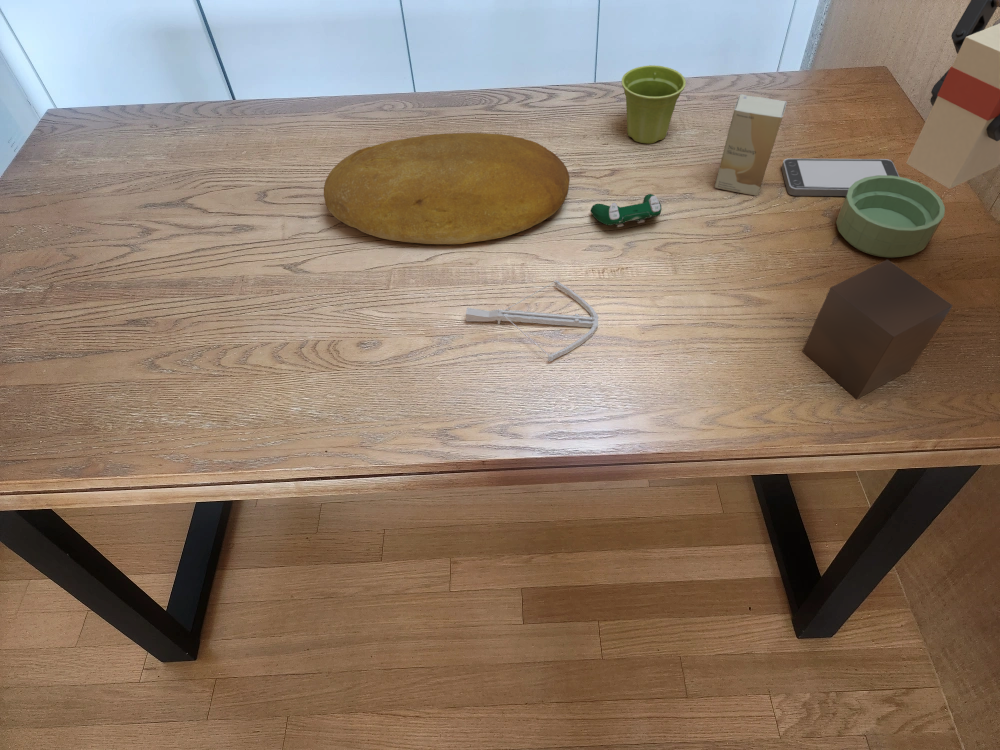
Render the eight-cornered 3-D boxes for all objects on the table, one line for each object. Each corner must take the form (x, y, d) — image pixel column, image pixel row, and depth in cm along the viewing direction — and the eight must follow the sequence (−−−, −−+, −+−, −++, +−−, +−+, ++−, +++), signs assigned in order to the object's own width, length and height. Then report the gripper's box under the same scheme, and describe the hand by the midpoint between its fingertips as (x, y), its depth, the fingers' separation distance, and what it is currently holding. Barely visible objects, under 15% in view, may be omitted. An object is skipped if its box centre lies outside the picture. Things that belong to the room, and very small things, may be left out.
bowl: (946, 241, 85) (965, 209, 81) (883, 273, 82) (899, 241, 79) (877, 197, 92) (891, 165, 88) (815, 225, 89) (827, 193, 85)
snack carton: (999, 166, 58) (1077, 36, 49) (949, 189, 56) (1020, 60, 47) (953, 141, 60) (1019, 14, 52) (904, 163, 59) (964, 36, 50)
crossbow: (597, 292, 85) (599, 281, 83) (595, 369, 77) (597, 358, 75) (473, 283, 86) (473, 271, 84) (459, 357, 78) (458, 346, 76)
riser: (910, 369, 73) (953, 305, 65) (856, 399, 71) (893, 336, 63) (854, 324, 78) (887, 259, 70) (801, 351, 76) (830, 287, 68)
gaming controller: (593, 233, 94) (604, 228, 88) (588, 206, 93) (599, 199, 87) (655, 221, 94) (670, 215, 88) (651, 194, 94) (666, 186, 88)
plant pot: (679, 119, 107) (687, 66, 100) (675, 152, 101) (683, 98, 95) (621, 116, 109) (625, 63, 102) (613, 148, 103) (618, 95, 96)
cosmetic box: (713, 189, 95) (731, 109, 86) (719, 172, 98) (737, 92, 88) (759, 197, 93) (783, 116, 84) (764, 179, 96) (787, 99, 86)
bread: (336, 181, 102) (318, 121, 95) (562, 162, 102) (563, 100, 94) (321, 260, 91) (299, 199, 83) (576, 239, 90) (578, 176, 82)
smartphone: (782, 158, 97) (891, 159, 95) (780, 164, 98) (888, 165, 96) (790, 188, 92) (905, 190, 90) (788, 195, 93) (902, 196, 91)
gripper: (1063, -147, 49) (880, 62, 55) (1288, -96, 41) (1042, 143, 47) (1067, -81, 54) (900, 103, 61) (1266, -24, 46) (1049, 182, 52)
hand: (963, 119), depth 54 cm, fingers closed on snack carton, 4 cm apart
